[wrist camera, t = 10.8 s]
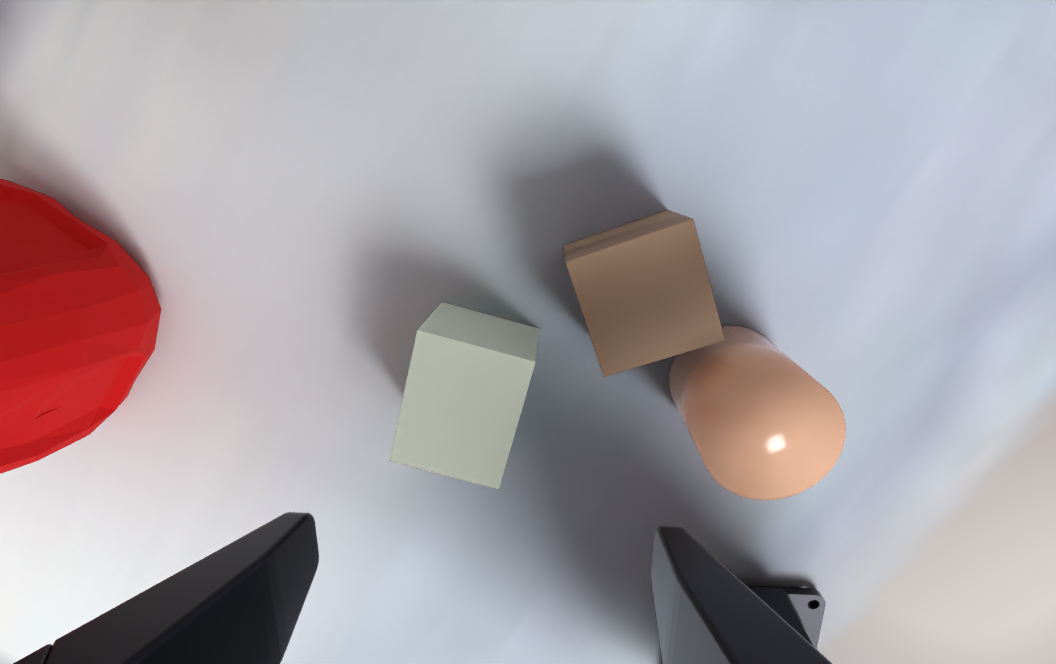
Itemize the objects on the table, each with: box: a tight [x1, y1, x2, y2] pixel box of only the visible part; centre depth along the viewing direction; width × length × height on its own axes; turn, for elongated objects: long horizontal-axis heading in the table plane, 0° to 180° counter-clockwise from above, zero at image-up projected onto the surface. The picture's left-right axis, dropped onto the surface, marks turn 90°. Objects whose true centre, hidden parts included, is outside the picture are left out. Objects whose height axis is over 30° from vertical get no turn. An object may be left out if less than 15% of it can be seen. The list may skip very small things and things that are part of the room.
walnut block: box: [564, 210, 725, 377], centre depth 19 cm, size 4×4×4 cm
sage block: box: [389, 302, 539, 490], centre depth 20 cm, size 5×4×4 cm
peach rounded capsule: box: [669, 326, 846, 500], centre depth 19 cm, size 4×4×5 cm
